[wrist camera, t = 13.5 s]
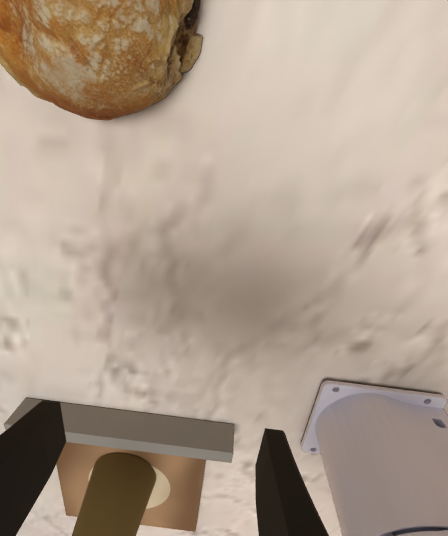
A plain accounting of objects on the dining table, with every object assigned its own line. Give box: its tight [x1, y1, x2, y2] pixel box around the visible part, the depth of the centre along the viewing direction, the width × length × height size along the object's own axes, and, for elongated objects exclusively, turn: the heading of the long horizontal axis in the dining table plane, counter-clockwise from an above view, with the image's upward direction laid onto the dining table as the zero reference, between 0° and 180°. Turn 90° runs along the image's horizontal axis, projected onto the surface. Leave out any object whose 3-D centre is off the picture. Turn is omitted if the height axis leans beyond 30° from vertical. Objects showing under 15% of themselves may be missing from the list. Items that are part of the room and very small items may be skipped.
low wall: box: [4, 398, 234, 463], centre depth 24 cm, size 18×1×2 cm, turn 83°
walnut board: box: [56, 442, 205, 532], centre depth 28 cm, size 14×14×1 cm
